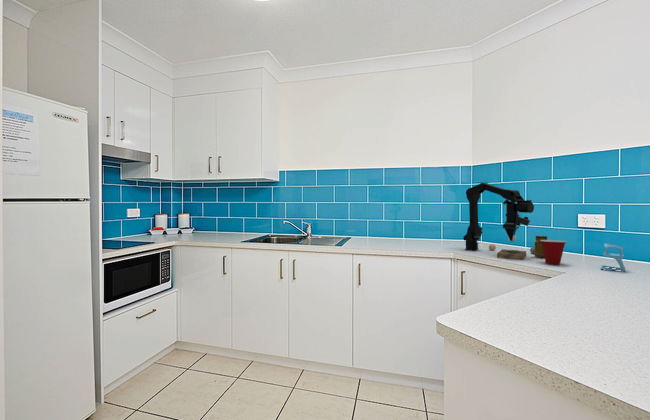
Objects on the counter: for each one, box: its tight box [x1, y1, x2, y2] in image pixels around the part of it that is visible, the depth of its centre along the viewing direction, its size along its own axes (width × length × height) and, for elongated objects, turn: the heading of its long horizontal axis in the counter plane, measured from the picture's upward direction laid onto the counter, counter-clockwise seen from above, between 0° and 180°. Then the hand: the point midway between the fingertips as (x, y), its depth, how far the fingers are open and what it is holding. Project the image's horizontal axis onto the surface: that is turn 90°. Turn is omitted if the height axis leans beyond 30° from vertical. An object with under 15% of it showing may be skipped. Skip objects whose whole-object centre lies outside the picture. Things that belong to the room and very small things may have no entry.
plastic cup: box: [540, 239, 567, 266], centre depth 153 cm, size 11×11×12 cm
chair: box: [600, 242, 627, 272], centre depth 138 cm, size 8×8×12 cm
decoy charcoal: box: [529, 246, 535, 255], centre depth 179 cm, size 4×4×4 cm
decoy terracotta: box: [488, 243, 497, 251], centre depth 193 cm, size 4×4×4 cm
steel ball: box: [507, 234, 517, 242], centre depth 172 cm, size 4×4×4 cm
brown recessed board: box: [496, 248, 527, 261], centre depth 173 cm, size 12×16×2 cm
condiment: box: [532, 235, 548, 260], centre depth 168 cm, size 7×8×12 cm
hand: (511, 239), depth 173 cm, fingers closed on steel ball, 4 cm apart
